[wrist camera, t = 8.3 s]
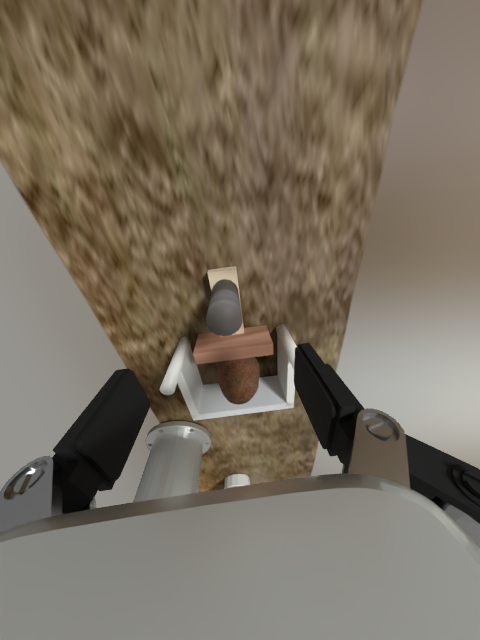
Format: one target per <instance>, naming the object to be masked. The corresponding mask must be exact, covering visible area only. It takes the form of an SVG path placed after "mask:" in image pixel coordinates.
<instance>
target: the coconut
mask: <svg viewBox="0 0 480 640" xmlns="http://www.w3.org/2000/svg"><path fill="white" fill-rule="evenodd" d="M259 378H260V369H259V364H258V361H257V360H256V358H255V357H251V358H244V359H236V360H228V361H220V362H219V363H218V381H219V386H220V388H221V391H222V393H223V395H224V397H225V398H226V399H227V400H228V401H229V402H230V403H233V404H245V403H247V402H248V401H250V400H251V399H252V397H253V396H254V395H255V393H256V392H257V389H258V386H259Z"/></svg>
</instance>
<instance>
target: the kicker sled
mask: <svg viewBox="0 0 480 640" xmlns="http://www.w3.org/2000/svg"><path fill="white" fill-rule="evenodd" d="M207 273H208V278H209V283H210V288H211V292H212V294H211V298H210V303H209V307H208V311H207V316H206V324H207V326H208V328H209V329H210V331H212V332H210V333H202V334H198V337H197V341H196V345H195V348H194V352H193V356H194V359H195V362H196V365H197V364H205V363H213V362H220V361H228V360H236V359H244V358H251V357H259V356H267V355H273V342H272V339H271V337H270V334H269V331H268V329H267V326H266V325H263V326H256V327H248V328H244V327H243V319H242V310H241V302H240V294H239V286H238V278H237V270H236V266H235V267H227V268H219V269H212V270H208V272H207Z"/></svg>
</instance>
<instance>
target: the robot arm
mask: <svg viewBox="0 0 480 640" xmlns="http://www.w3.org/2000/svg"><path fill="white" fill-rule="evenodd" d="M294 385H295V388H296V390H297V392H298V395H299V397H300V399H301V401H302V404H303V406H304V408H305V410H306V412H307V415H308V417H309V419H310V421H311V424H312V426H313V428H314V430H315V432H316V435H317V437H318V439H319V441H320V444H321V445H322V447H323V449H327V451H328V453H329V455H330V456H336V455H337V456H338V458H339V460H340V462H341V463H343V469H342V474H330V475H319V476H311V477H303V478H295V479H287V480H280V481H273V482H266V483H259V484H252V485H245V486H239V487H232V488H225V489H218V490H212V491H205V492H199V493H198V488H199V479H200V470H201V461H202V454H203V453H205V452H206V451H207V450H208V449H209V448H210V446H211V435H210V433H209V432H208V430H207V429H205V428H204V427H202V426H200V425H198V424H195V423H192V422H187V421H170V422H165V423H161V424H159V425H157V426H155V427H153V428H152V429H151V430H150V431H149V433H148V435H147V438H146V445H147V447H148V448H149V449H150V451H151V452H150V455H149V458H148V461H147V463H146V466H145V470H144V472H143V475H142V478H141V481H140V484H139V487H138V490H137V493H136V496H135V499H134V502H133V503H127V504H121V505H115V506H109V507H102V508H96V502H95V495H96V493H97V491H98V490H99V491H103V490H111V489H112V487H113V485H114V483H115V481H116V480H117V479H118V478H119V477H120V475H121V472H122V470H123V468H124V465H125V463H126V461H127V459H128V456H129V454H130V452H131V449H132V447H133V445H134V442H135V440H136V438H137V435H138V433H139V431H140V429H141V426H142V424H143V422H144V419H145V417H146V415H147V412H148V410H149V408H150V402H149V400H148V398H147V396H146V394H145V392H144V390H143V389H142V387H141V385H140V383H139V381H138V379H137V377H136V376H135V374H134V372H133V371H131V370H130V369H122V370H117V371H115V372H114V373H113V375H112V376H111V377H110V378H109V380H108V381H107V382H106V384H105V385H104V386H103V387H102V388H101V390H100V391H99V392H98V394H97V395H96V396H95V398H94V399H93V400H92V401H91V402H90V404H89V405H88V406H87V407H86V409H85V410H84V411H83V412H82V414H81V415H80V416H79V417H78V419H77V420H76V421H75V422H74V424H73V425H72V426H71V428H70V429H69V430H68V431H67V433H66V434H65V435H64V436H63V438H62V439H61V440H60V441H59V443H58V444H57V445H56V447H55V448H54V449H53V451H54V452H55V453H56V454H55V455H54V456H53V457H50V456H43V457H40V458H37V459H35V460H34V461H31V462H30V463H28V464H27V465H25V466H24V467H22V468H21V469H20V470H19V471H18V472H16V473H15V474H14V475H13V476H12V477H11V478H10V479H9V480H8V481H7V482H6V484H5V485H4V486H3V488H2V489H1V491H0V640H480V470H479V469H478V468H476V467H474V466H472V465H470V464H467V463H466V462H463V461H461V460H459V459H457V458H455V457H453V456H451V455H449V454H446V453H444V452H442V451H440V450H438V449H436V448H434V447H431V446H429V445H427V444H425V443H423V442H421V441H418V440H416V439H414V438H412V437H410V436H408V435H406V434H405V433H404V430H403V429H402V427H401V426H400V424H399V423H398V422H397V421H396V420H395V419H394V418H392V417H391V416H389V415H388V414H386V413H384V412H382V411H379V410H376V409H364V408H363V406H362V405H361V404H360V403H359V402H358V400H357V399H356V398H355V396H354V395H353V394H352V392H351V391H350V390H349V389H348V387H347V386H346V385H345V384H344V382H343V381H342V380H341V378H340V377H339V376H338V375H337V374H336V372H335V371H334V370H333V368H332V367H331V366H330V365H328V364H325V363H324V362H323V361H322V359H321V358H320V357H319V355H318V354H317V353H316V352H315V350H314V349H313V348H312V346H311V345H310V344H309V343H305V344H299V345H298V347H295V359H294Z"/></svg>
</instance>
